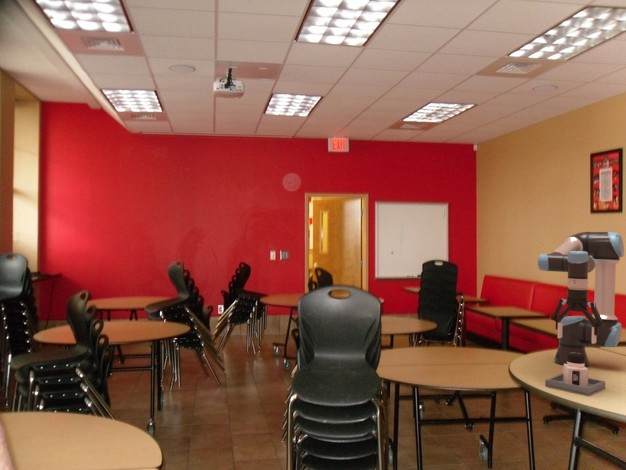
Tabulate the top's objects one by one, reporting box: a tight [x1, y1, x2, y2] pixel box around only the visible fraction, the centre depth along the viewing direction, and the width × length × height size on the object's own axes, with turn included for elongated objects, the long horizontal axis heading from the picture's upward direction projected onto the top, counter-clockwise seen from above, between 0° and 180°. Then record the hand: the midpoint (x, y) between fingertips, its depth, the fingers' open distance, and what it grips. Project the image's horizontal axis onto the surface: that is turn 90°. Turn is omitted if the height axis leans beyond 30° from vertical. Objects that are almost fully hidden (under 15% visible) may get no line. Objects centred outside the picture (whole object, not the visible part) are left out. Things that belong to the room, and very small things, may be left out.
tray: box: [544, 372, 606, 397], centre depth 226 cm, size 17×17×3 cm
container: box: [562, 353, 589, 387], centre depth 226 cm, size 8×8×13 cm
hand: (576, 340), depth 226 cm, fingers open, 13 cm apart
